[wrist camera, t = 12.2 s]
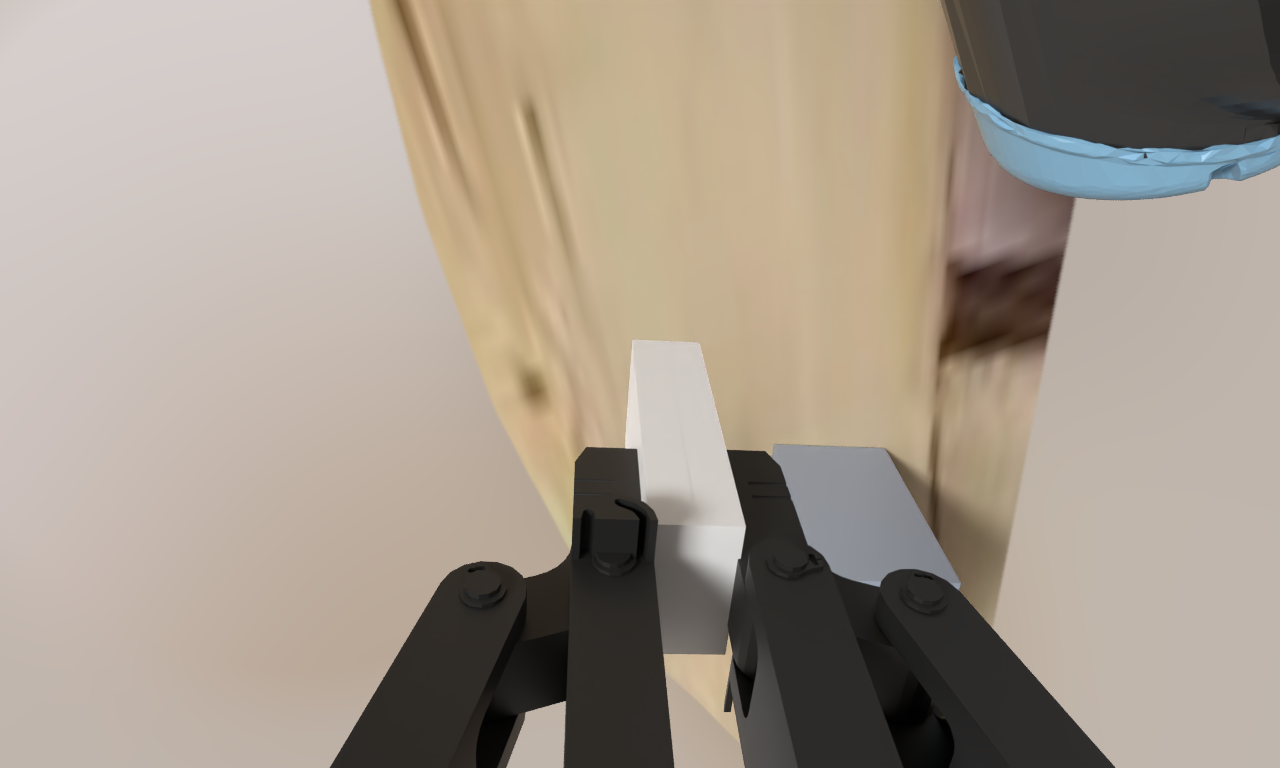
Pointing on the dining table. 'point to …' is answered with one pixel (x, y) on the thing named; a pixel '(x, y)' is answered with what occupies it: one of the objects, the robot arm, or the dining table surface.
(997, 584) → the dining table surface
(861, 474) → the block
